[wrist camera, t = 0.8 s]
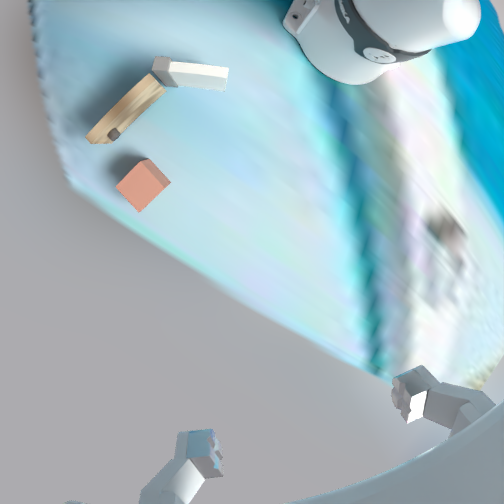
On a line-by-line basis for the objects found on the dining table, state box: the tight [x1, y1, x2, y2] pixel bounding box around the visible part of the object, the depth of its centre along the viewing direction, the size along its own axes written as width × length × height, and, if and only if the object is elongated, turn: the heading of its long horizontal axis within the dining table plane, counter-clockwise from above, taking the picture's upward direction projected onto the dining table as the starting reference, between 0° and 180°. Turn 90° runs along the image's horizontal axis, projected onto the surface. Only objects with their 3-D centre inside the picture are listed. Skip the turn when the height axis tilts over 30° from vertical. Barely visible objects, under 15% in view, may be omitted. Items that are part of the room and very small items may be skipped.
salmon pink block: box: [116, 159, 171, 212], centre depth 34 cm, size 4×4×5 cm
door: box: [85, 73, 166, 144], centre depth 29 cm, size 10×2×7 cm, turn 129°
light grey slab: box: [152, 56, 229, 92], centre depth 28 cm, size 2×8×9 cm, turn 79°
